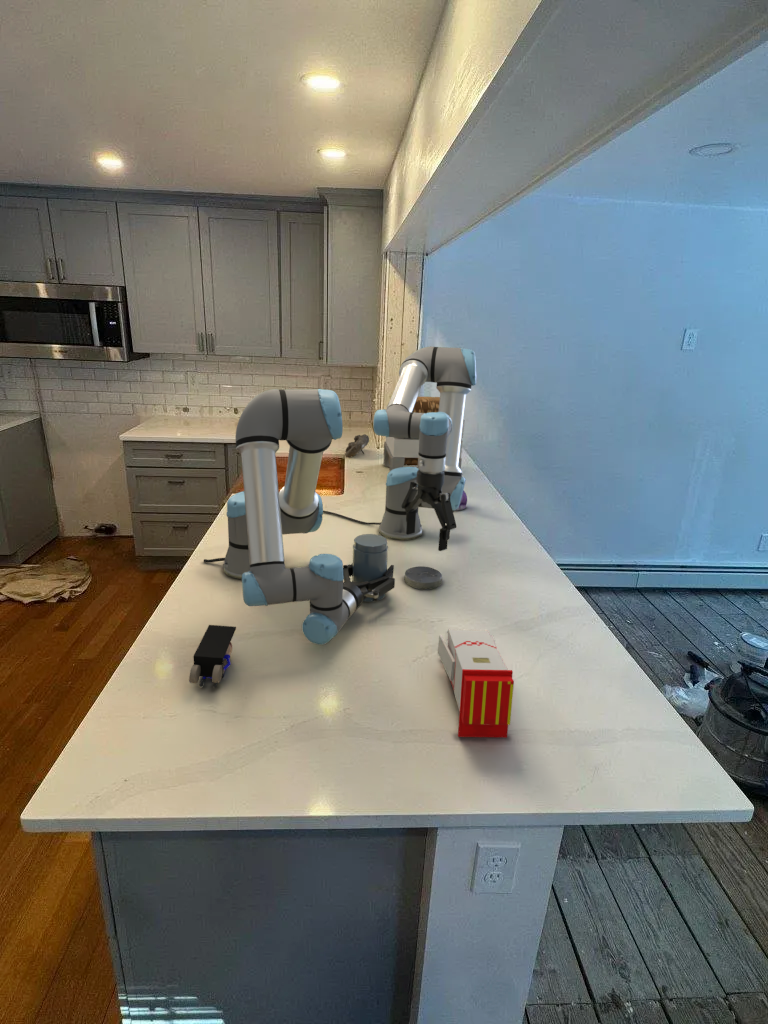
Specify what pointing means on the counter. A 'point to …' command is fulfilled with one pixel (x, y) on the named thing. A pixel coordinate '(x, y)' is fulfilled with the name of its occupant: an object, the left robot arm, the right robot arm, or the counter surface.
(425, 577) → the lid
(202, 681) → the black wheeled vehicle
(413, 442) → the white slatted box
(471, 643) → the toy
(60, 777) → the counter surface
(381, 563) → the jar
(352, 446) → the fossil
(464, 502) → the figurine
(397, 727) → the counter surface
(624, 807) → the counter surface
